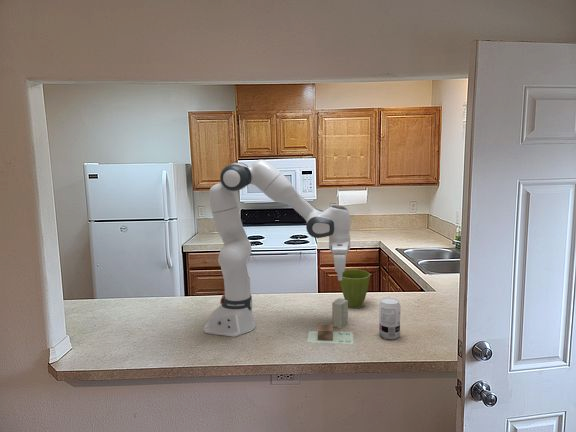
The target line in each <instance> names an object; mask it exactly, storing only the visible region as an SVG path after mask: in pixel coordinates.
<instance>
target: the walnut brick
mask: <svg viewBox="0 0 576 432" xmlns="http://www.w3.org/2000/svg"><path fill="white" fill-rule="evenodd" d="M317 331H318V340H325V341H333V332H334V326H333V325H332V324H321V323H320V324H318V325H317Z"/></svg>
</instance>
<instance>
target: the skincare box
mask: <svg viewBox="0 0 576 432" xmlns="http://www.w3.org/2000/svg"><path fill="white" fill-rule="evenodd" d="M331 303H332V304H331V306H332V310H331V311H332V313H331V315H332V318H331V319H332V324H331V325H333V327H335V328H338V329H341V328H343V327H345V326H346V325H348V324H349V306H348V300H345V298H340V297H339V298H338V299H336V300H334V301H332V302H331Z"/></svg>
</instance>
